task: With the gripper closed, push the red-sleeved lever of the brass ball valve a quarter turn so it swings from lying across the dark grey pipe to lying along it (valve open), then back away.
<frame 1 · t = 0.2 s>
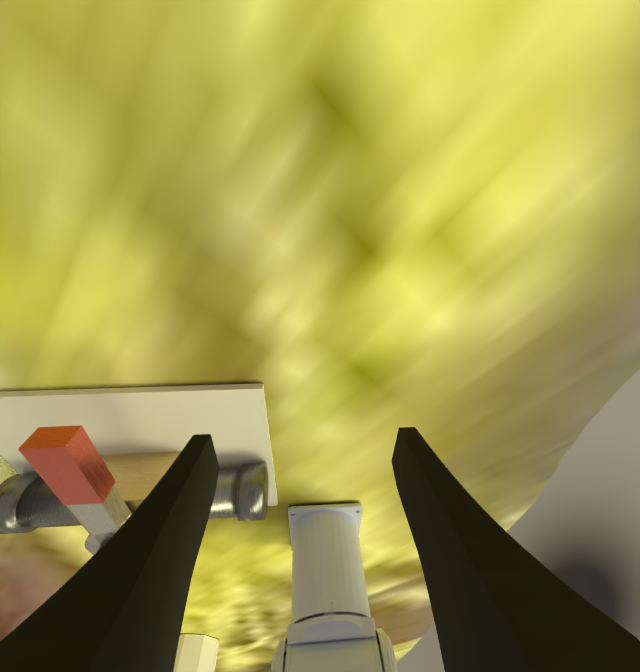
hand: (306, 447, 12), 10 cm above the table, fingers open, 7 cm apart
toilet paper: (190, 640, 54), on the table
mounting board: (147, 455, 26), on the table
lever: (96, 508, 20), point 6 cm above the table, hinge at 0.0°
valve body: (153, 469, 28), resting on mounting board
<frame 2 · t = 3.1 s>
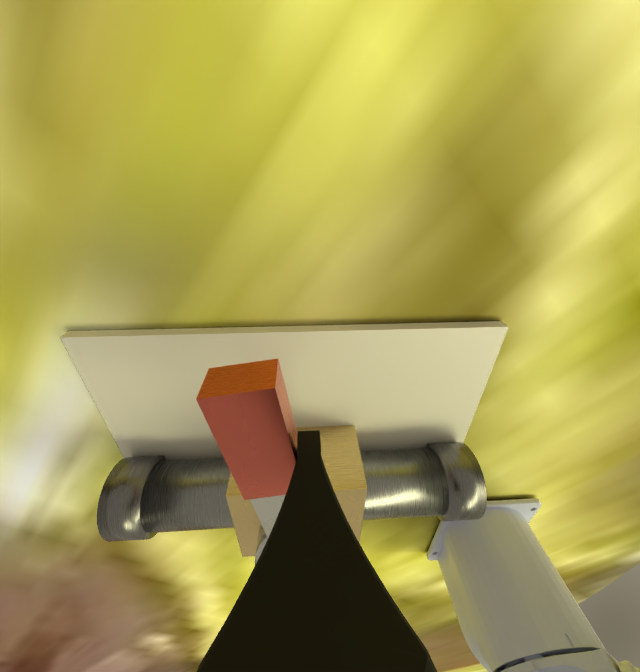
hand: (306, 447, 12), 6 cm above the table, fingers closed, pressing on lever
mounting board: (298, 432, 19), on the table
lever: (281, 502, 13), point 6 cm above the table, hinge at 7.9°, touching gripper
valve body: (299, 452, 20), resting on mounting board
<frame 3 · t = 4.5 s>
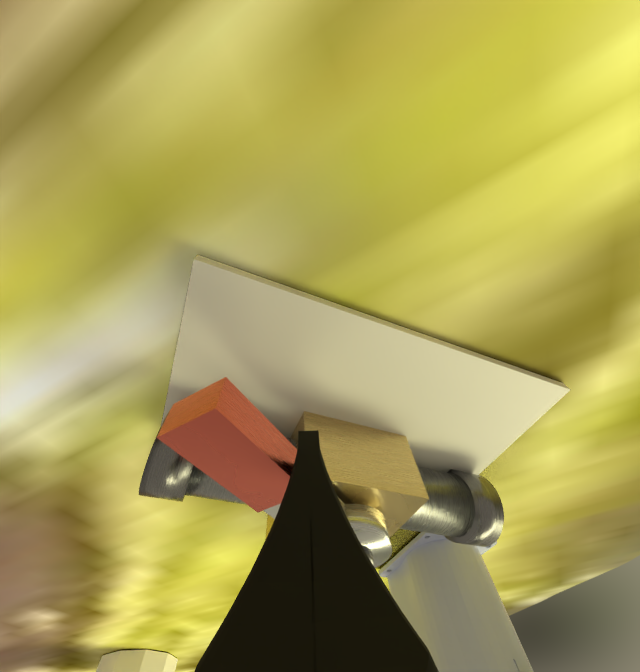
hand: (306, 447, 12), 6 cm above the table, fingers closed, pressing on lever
toilet paper: (140, 657, 43), on the table
mounting board: (347, 429, 19), on the table
lever: (299, 505, 13), point 6 cm above the table, hinge at 51.9°, touching gripper
valve body: (335, 448, 20), resting on mounting board
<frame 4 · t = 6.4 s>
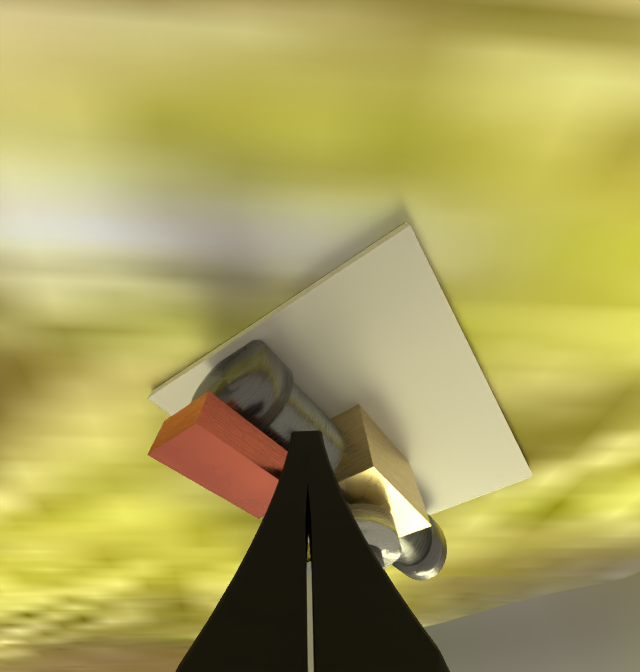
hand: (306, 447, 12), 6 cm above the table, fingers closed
mounting board: (368, 436, 20), on the table
lever: (300, 509, 13), point 6 cm above the table, hinge at 92.2°, touching gripper
valve body: (343, 448, 20), resting on mounting board
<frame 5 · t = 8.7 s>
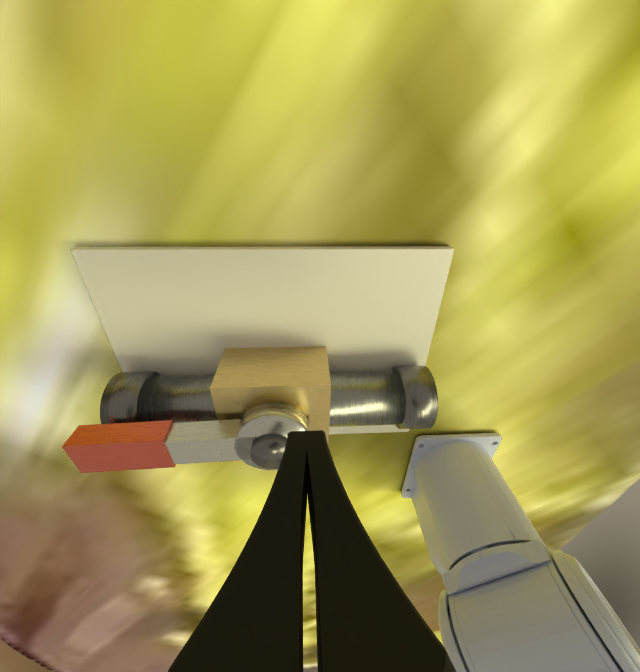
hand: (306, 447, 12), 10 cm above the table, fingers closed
mounting board: (277, 356, 22), on the table
lever: (194, 446, 18), point 6 cm above the table, hinge at 92.2°
valve body: (279, 377, 23), resting on mounting board
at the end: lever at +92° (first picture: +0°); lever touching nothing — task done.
